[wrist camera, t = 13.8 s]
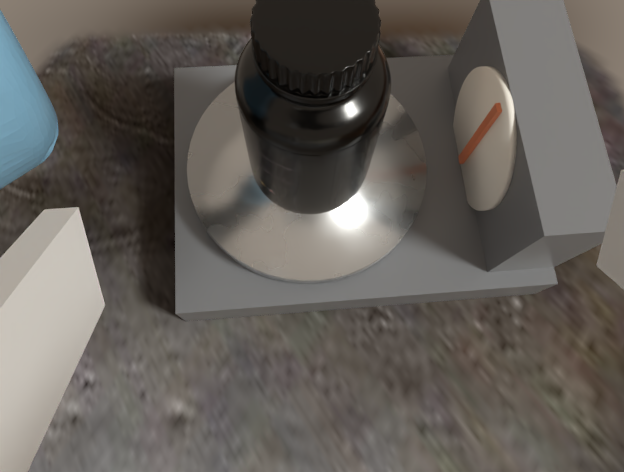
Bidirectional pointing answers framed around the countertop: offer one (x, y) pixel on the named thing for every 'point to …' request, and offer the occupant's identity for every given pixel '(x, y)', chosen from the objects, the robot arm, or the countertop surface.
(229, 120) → the scale pan
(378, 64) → the supplement bottle
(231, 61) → the countertop surface
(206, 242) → the scale
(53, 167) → the countertop surface
